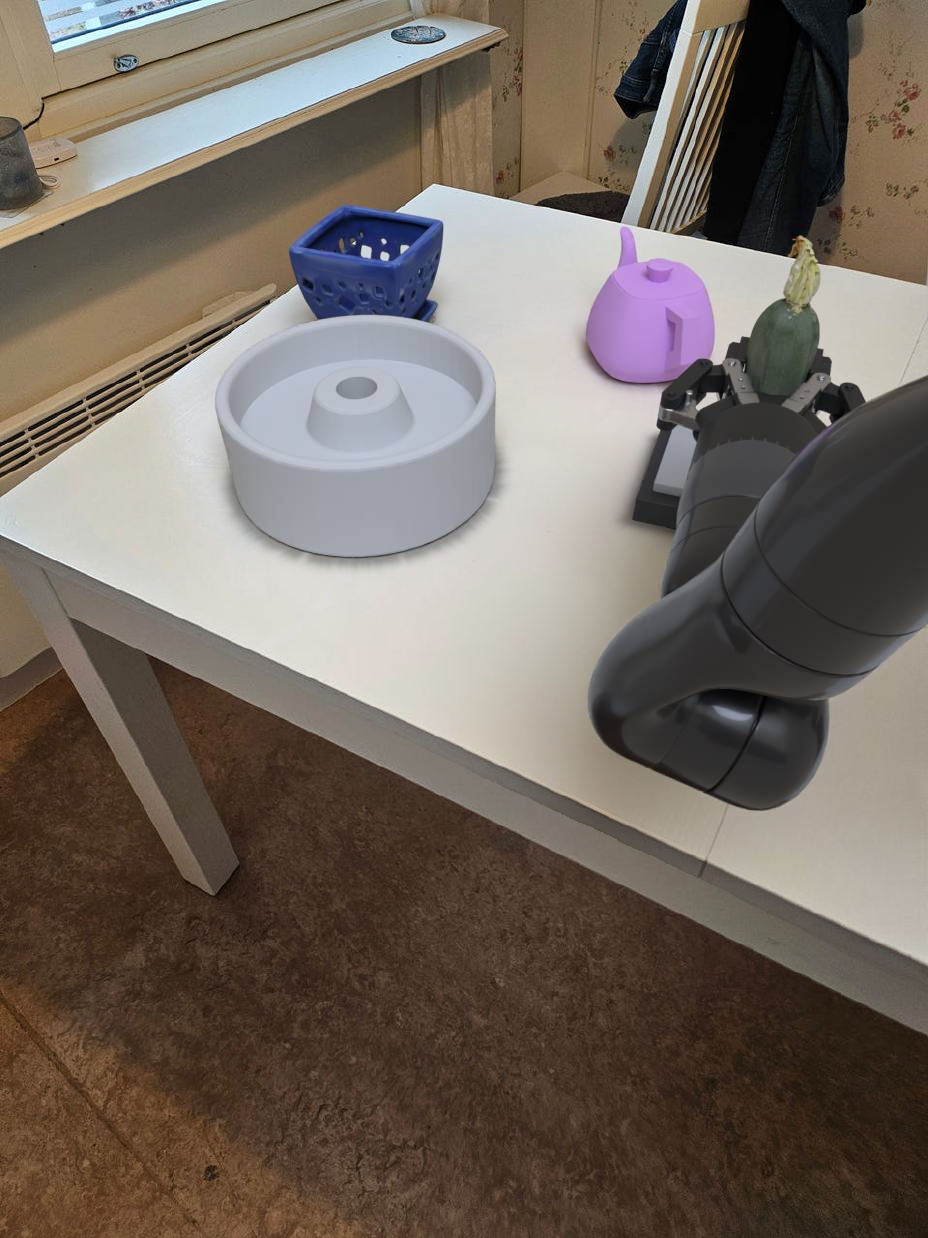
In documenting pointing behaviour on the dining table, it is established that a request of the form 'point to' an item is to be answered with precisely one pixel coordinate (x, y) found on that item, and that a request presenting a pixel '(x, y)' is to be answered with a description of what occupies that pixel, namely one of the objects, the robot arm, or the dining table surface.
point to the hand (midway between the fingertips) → (778, 354)
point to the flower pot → (368, 264)
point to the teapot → (650, 318)
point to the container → (359, 433)
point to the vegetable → (787, 330)
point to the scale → (665, 478)
